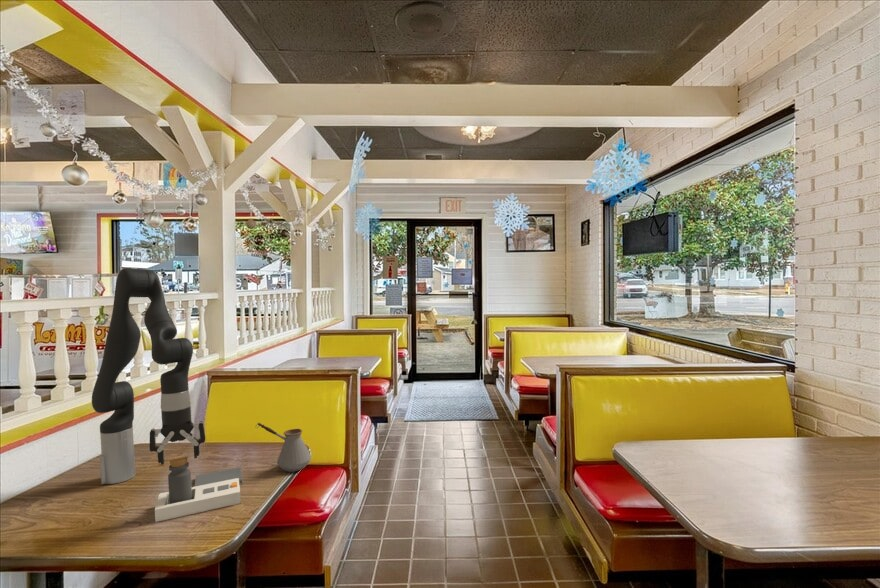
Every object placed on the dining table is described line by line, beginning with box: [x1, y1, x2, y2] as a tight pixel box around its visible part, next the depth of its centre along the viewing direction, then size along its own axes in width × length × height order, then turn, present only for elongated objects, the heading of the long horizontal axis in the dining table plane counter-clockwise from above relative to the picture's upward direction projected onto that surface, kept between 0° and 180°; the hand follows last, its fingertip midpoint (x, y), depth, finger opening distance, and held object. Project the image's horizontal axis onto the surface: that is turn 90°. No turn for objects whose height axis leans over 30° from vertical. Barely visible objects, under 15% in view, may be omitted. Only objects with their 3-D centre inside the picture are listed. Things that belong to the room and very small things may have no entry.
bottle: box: [167, 455, 193, 504], centre depth 137 cm, size 6×6×15 cm
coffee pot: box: [255, 422, 312, 473], centre depth 166 cm, size 21×12×15 cm, turn 71°
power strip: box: [154, 478, 242, 523], centre depth 139 cm, size 22×11×4 cm, turn 116°
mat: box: [193, 466, 243, 487], centre depth 155 cm, size 14×12×1 cm
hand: (179, 460), depth 136 cm, fingers open, 8 cm apart
